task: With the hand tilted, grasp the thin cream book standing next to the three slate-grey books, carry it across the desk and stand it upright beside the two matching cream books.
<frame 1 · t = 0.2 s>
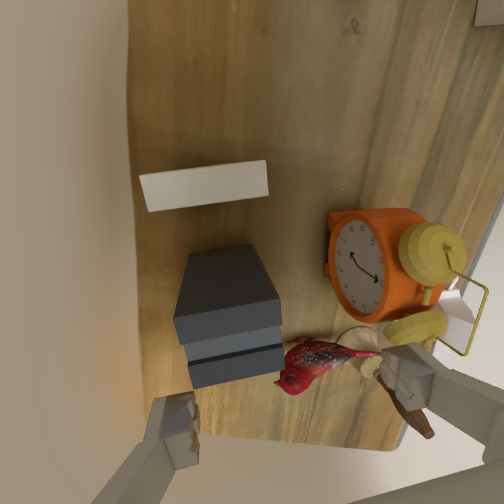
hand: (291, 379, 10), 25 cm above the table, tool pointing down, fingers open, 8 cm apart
decorative bird figurine: (312, 335, 42), on the table
grey books: (225, 276, 36), on the table
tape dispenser: (406, 282, 42), on the table
alarm clock: (341, 243, 37), on the table
hand bell: (354, 344, 44), on the table
white book: (208, 176, 31), on the table
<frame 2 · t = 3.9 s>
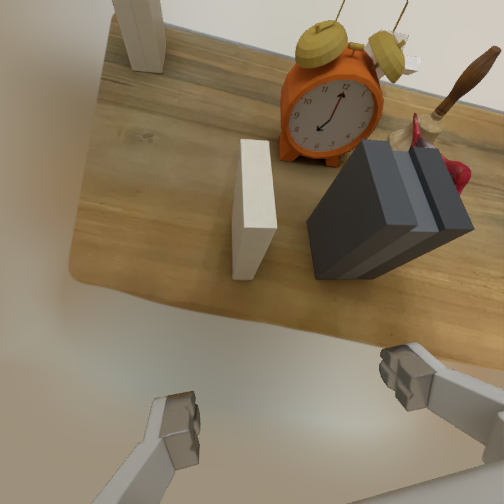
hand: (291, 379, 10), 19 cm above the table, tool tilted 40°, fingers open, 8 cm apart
decorative bird figurine: (400, 181, 42), on the table
grey books: (338, 249, 35), on the table
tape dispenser: (343, 109, 48), on the table
alarm clock: (308, 153, 42), on the table
white books: (150, 57, 46), on the table
hand bell: (407, 148, 46), on the table
white book: (241, 248, 33), on the table
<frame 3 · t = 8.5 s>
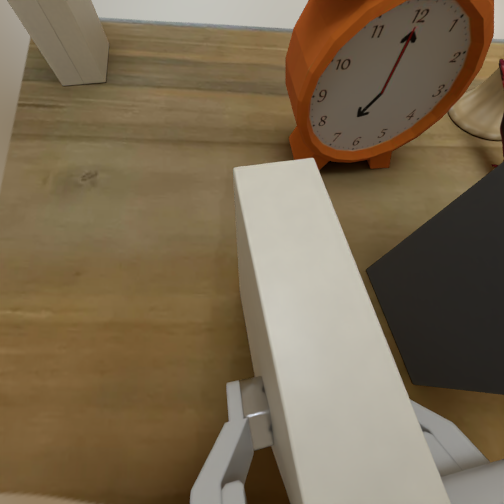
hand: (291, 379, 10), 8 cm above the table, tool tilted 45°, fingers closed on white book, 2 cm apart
decorative bird figurine: (489, 170, 27), on the table
grey books: (434, 311, 20), on the table
alarm clock: (337, 154, 27), on the table
white books: (87, 63, 33), on the table
hand bell: (480, 118, 31), on the table
white book: (266, 346, 18), on the table, touching gripper
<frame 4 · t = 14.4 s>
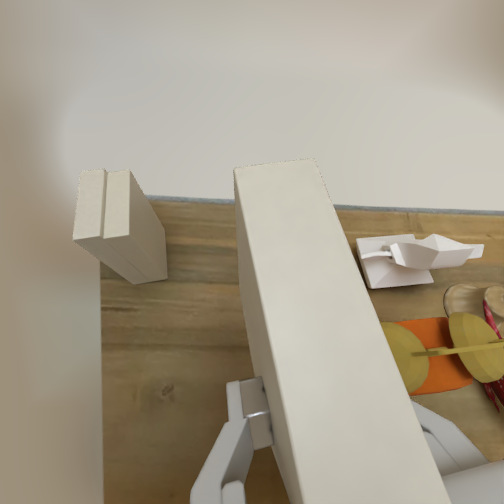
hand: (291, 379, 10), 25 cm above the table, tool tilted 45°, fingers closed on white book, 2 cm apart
decorative bird figurine: (476, 371, 34), on the table
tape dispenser: (381, 268, 40), on the table
alarm clock: (357, 357, 35), on the table
white books: (150, 256, 40), on the table
hand bell: (469, 310, 38), on the table
white book: (266, 346, 18), point 17 cm above the table, touching gripper
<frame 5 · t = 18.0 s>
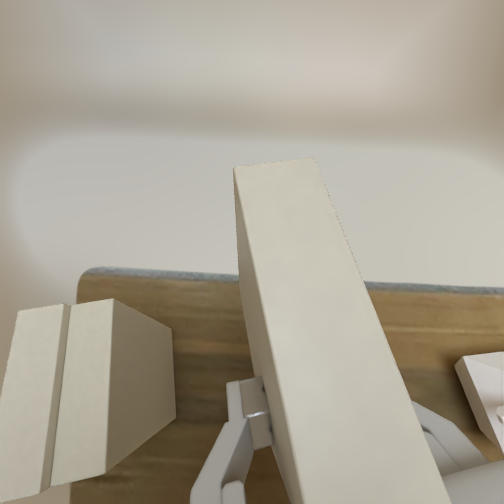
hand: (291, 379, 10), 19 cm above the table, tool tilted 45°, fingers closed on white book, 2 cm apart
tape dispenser: (492, 393, 27), on the table
white books: (149, 375, 27), on the table
white book: (266, 346, 18), point 11 cm above the table, touching gripper
when the fingers open (8 cm above the table, at t = 20.6 s): white book stays where it is, on the table.
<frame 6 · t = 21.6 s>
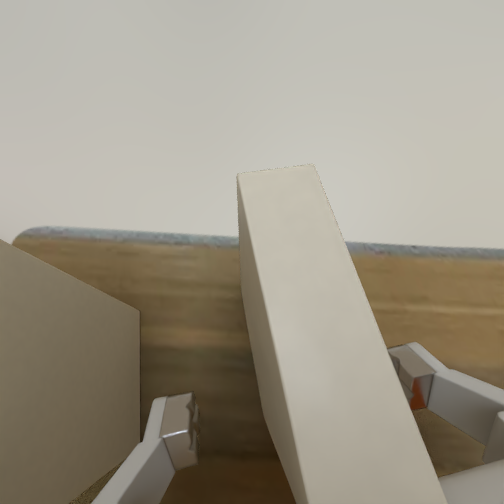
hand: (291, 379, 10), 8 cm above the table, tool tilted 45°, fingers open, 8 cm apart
white books: (103, 379, 17), on the table
white book: (267, 345, 19), on the table
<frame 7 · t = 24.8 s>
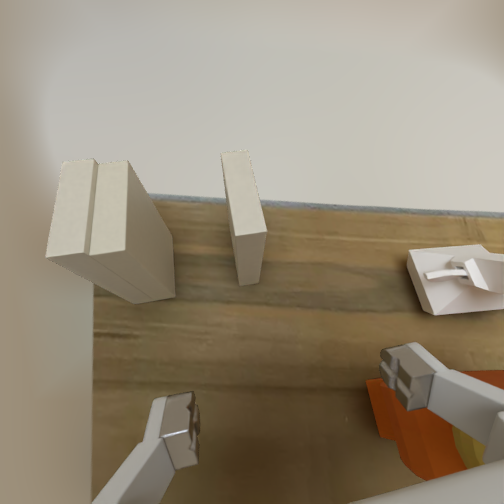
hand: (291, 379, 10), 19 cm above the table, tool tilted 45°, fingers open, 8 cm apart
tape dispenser: (437, 286, 33), on the table
alarm clock: (415, 403, 27), on the table
white books: (154, 268, 33), on the table
white book: (243, 254, 34), on the table
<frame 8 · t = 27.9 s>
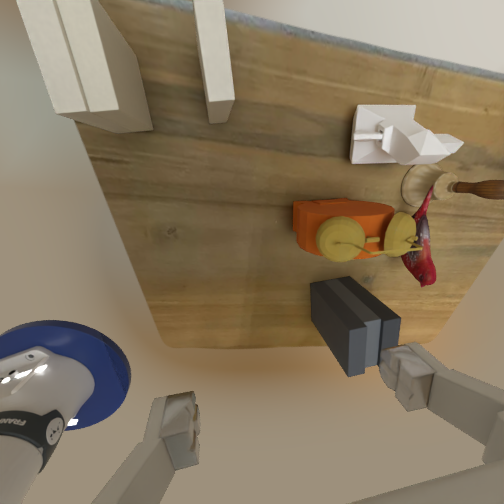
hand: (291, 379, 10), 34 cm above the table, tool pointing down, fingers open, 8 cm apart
decorative bird figurine: (396, 228, 48), on the table
grey books: (330, 298, 51), on the table
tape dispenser: (368, 138, 41), on the table
alarm clock: (319, 215, 45), on the table
white books: (126, 96, 34), on the table
hand bell: (420, 184, 46), on the table
white book: (213, 88, 35), on the table
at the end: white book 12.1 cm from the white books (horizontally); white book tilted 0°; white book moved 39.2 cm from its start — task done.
